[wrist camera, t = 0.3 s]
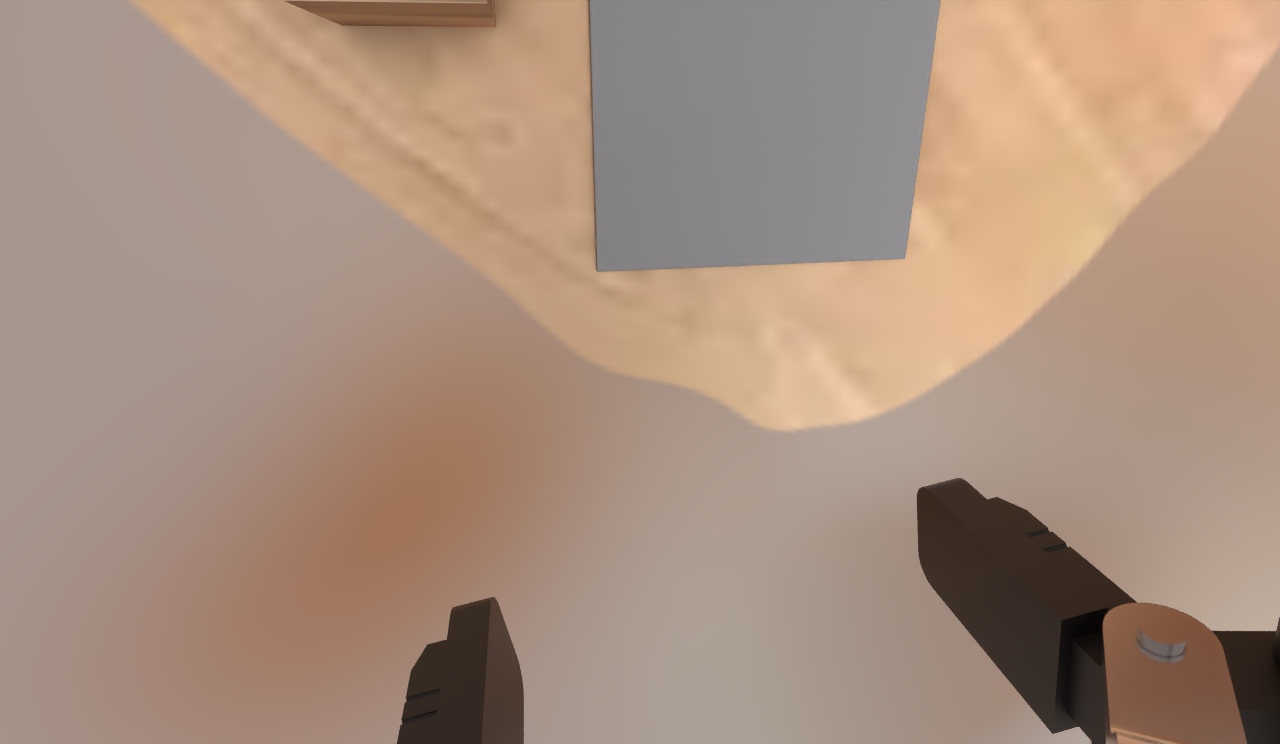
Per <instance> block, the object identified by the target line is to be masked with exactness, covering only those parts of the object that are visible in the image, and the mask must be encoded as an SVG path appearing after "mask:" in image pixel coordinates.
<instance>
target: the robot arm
mask: <svg viewBox="0 0 1280 744" xmlns="http://www.w3.org/2000/svg"><path fill="white" fill-rule="evenodd" d="M917 520H918V552H919V559H920V563H921V566H922V569H923V572H924V574H925V576H926V578H927V580H928V582H929V583H930V585H931V586H932V588H933V589H934V590H935V591H936V593H937V594H938V595H939V596H940V597H941V599H942V600H943V601H944V602H945V603H946V605H947V606H948V607H949V608H950V610H951V611H952V612H953V613H954V614H955V616H956V617H957V618H958V619H959V621H960V622H961V623H962V624H963V625H964V627H965V628H966V629H967V630H968V631H969V633H970V634H971V635H972V636H973V638H974V639H975V640H976V641H977V642H978V644H979V645H980V646H981V647H982V649H983V650H984V651H985V652H986V653H987V655H988V656H989V657H990V658H991V660H992V661H993V662H994V663H995V664H996V666H997V667H998V668H999V669H1000V670H1001V672H1002V673H1003V674H1004V675H1005V677H1006V678H1007V679H1008V680H1009V681H1010V683H1011V684H1012V685H1013V686H1014V687H1015V689H1016V690H1017V691H1018V692H1019V694H1020V695H1021V696H1022V697H1023V698H1024V700H1025V701H1026V702H1027V703H1028V705H1029V706H1030V707H1031V708H1032V709H1033V711H1034V712H1035V713H1036V714H1037V715H1038V717H1039V718H1040V719H1041V720H1042V721H1043V723H1044V724H1045V725H1046V726H1047V728H1048V729H1049V730H1050V731H1051V733H1052V734H1054V733H1058V732H1061V731H1064V730H1068V729H1071V728H1075V727H1078V726H1079V727H1080V728H1081V729H1082V731H1083V732H1084V733H1085V734H1086V735H1087V736H1088V737H1089V738H1090V744H1280V618H1279V622H1278V626H1277V630H1276V631H1211V630H1210V629H1209V628H1207V626H1205V625H1204V624H1203V623H1201V622H1200V621H1198V620H1197V619H1195V618H1194V617H1192V616H1190V615H1188V614H1186V613H1184V612H1181V611H1179V610H1176V609H1173V608H1170V607H1167V606H1163V605H1158V604H1152V603H1137V602H1136V601H1135V600H1133V599H1132V598H1131V597H1130V596H1129V595H1128V594H1126V593H1125V592H1124V591H1123V590H1121V589H1120V588H1119V587H1118V586H1117V585H1116V584H1114V583H1113V582H1112V581H1111V580H1110V579H1108V578H1107V577H1106V576H1105V575H1103V574H1102V573H1101V572H1100V571H1099V570H1098V569H1096V568H1095V567H1094V566H1093V565H1092V564H1090V563H1089V562H1088V561H1087V560H1086V559H1084V558H1083V557H1082V556H1081V555H1080V554H1078V553H1077V552H1076V551H1075V550H1074V549H1072V548H1071V547H1067V546H1066V543H1065V542H1064V541H1063V540H1061V539H1060V538H1059V537H1058V536H1057V535H1056V534H1054V533H1053V532H1049V530H1048V528H1047V527H1046V526H1045V525H1043V524H1042V523H1041V522H1040V521H1039V520H1038V519H1036V518H1035V517H1034V516H1033V515H1032V514H1031V513H1029V512H1028V511H1027V510H1025V509H1023V508H1021V507H1018V506H1016V505H1014V504H1012V503H1009V502H1007V501H1005V500H1002V499H1000V498H998V497H995V498H991V499H988V500H987V499H986V498H985V497H983V496H982V495H981V494H980V493H979V492H978V491H977V490H976V489H974V488H973V487H972V486H971V485H970V484H969V483H968V482H966V481H965V480H963V479H961V478H956V479H952V480H949V481H945V482H941V483H937V484H933V485H929V486H925V487H922V488H920V489H919V490H918V493H917ZM523 695H524V692H523V682H522V675H521V670H520V666H519V662H518V658H517V655H516V653H515V650H514V647H513V644H512V641H511V638H510V636H509V633H508V630H507V627H506V624H505V621H504V619H503V616H502V613H501V610H500V607H499V605H498V602H497V600H496V599H495V598H494V597H491V598H487V599H483V600H479V601H475V602H471V603H468V604H464V605H460V606H456V607H453V609H452V610H451V614H450V621H449V629H448V635H447V640H444V641H440V642H436V643H432V644H428V645H427V646H426V648H425V649H424V651H423V653H422V654H421V656H420V657H419V659H418V661H417V662H416V664H415V665H414V667H413V669H412V670H411V674H410V679H409V684H408V689H407V695H406V699H407V702H406V703H405V705H404V710H403V716H402V725H401V726H400V731H399V736H398V742H397V744H524V696H523Z"/></svg>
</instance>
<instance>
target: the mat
mask: <svg viewBox="0 0 1280 744" xmlns="http://www.w3.org/2000/svg"><path fill="white" fill-rule="evenodd" d="M939 8H940V0H589V13H590V48H591V82H592V116H593V150H594V185H595V219H596V253H597V271H598V272H602V271H626V270H650V269H674V268H698V267H722V266H746V265H770V264H794V263H818V262H842V261H866V260H890V259H905V256H906V249H907V241H908V234H909V227H910V219H911V212H912V205H913V198H914V190H915V183H916V176H917V168H918V161H919V154H920V146H921V139H922V132H923V125H924V117H925V110H926V103H927V95H928V88H929V81H930V73H931V66H932V59H933V52H934V44H935V37H936V30H937V22H938V15H939Z"/></svg>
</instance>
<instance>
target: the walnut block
mask: <svg viewBox="0 0 1280 744" xmlns="http://www.w3.org/2000/svg"><path fill="white" fill-rule="evenodd" d="M283 1H286V2H288V3H290V4H293V5H295V6H298V7H300V8H302V9H305V10H307V11H309V12H312V13H314V14H317V15H319V16H321V17H324V18H326V19H328V20H331V21H333V22H336V23H338V24H340V25H350V26H459V27H496V20H495V7H494V0H283Z"/></svg>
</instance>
